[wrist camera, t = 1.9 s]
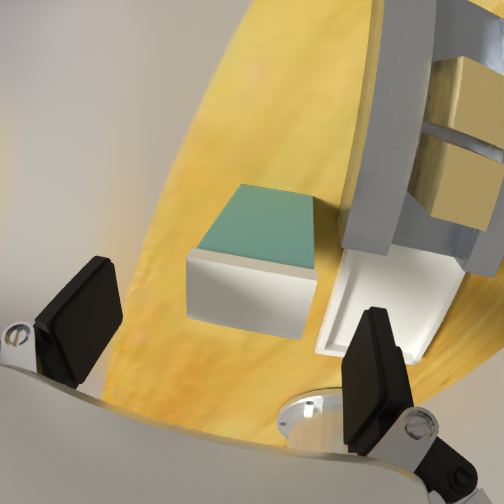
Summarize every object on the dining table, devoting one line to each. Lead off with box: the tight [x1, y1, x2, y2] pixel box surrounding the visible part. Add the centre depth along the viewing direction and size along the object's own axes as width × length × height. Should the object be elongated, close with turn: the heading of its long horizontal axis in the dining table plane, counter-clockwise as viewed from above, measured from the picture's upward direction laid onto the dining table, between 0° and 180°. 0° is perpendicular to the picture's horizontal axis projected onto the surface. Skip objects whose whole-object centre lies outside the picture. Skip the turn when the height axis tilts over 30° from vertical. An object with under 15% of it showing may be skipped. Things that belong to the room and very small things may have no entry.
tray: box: [316, 244, 466, 365], centre depth 24 cm, size 11×10×2 cm
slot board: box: [336, 0, 504, 278], centre depth 15 cm, size 18×12×4 cm, turn 174°
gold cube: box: [426, 56, 504, 150], centre depth 13 cm, size 4×4×4 cm
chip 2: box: [410, 133, 504, 231], centre depth 15 cm, size 4×4×4 cm
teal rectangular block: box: [186, 184, 317, 340], centre depth 18 cm, size 3×5×11 cm, turn 84°
